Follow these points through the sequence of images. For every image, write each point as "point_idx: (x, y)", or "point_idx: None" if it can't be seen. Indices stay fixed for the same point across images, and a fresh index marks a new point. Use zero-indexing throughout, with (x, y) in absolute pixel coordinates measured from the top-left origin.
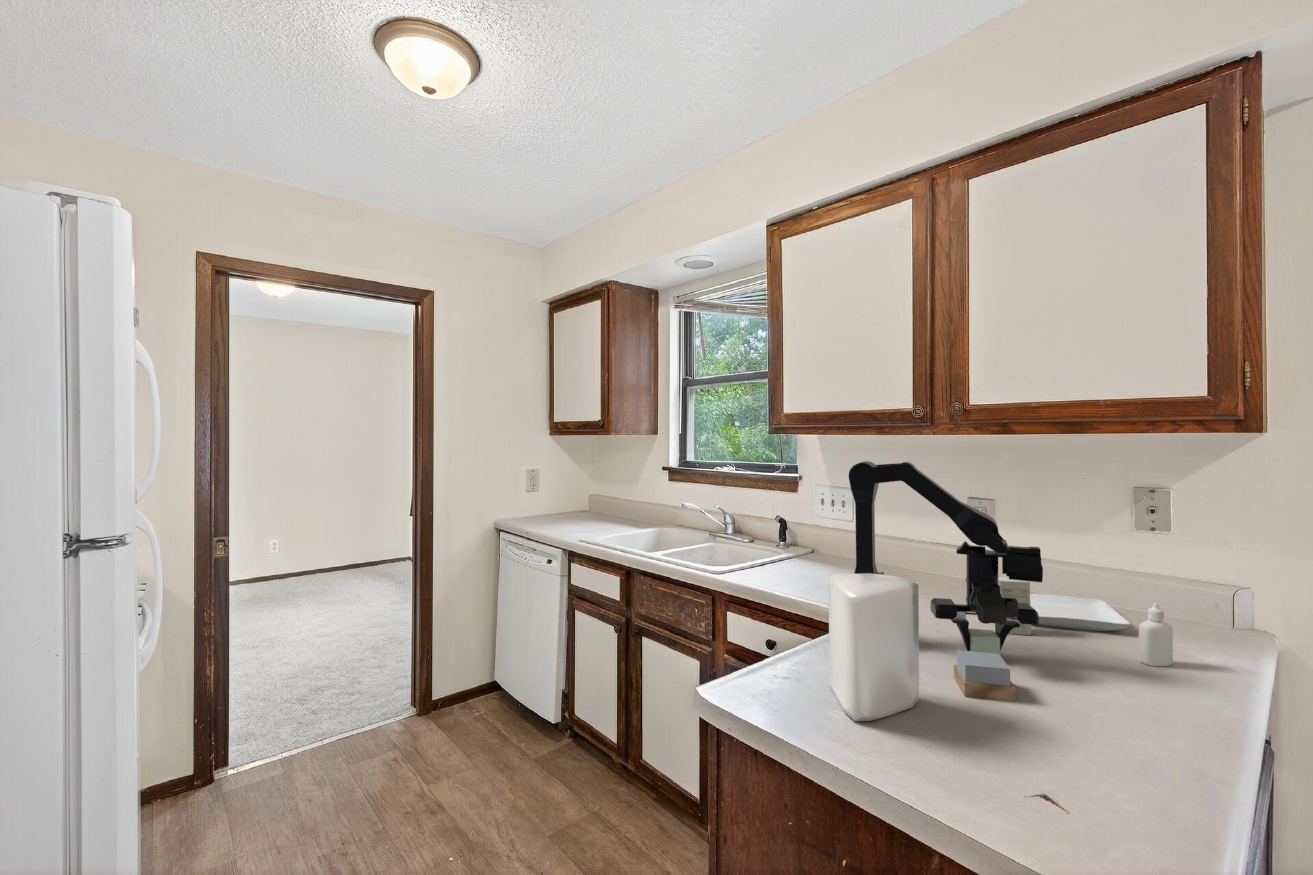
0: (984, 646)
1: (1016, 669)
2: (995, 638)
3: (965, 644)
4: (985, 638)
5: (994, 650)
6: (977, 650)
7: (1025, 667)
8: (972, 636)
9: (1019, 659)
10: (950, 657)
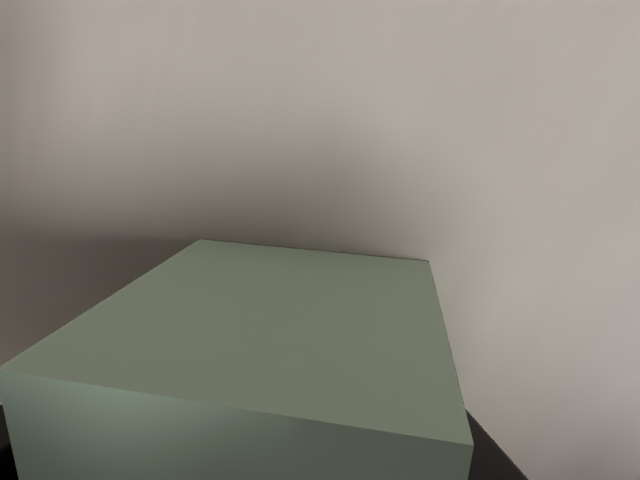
0: (287, 321)
1: (100, 113)
2: (68, 378)
3: (479, 441)
4: (232, 391)
5: (189, 285)
6: (381, 302)
7: (27, 173)
8: (467, 452)
9: (46, 331)
10: (619, 332)
